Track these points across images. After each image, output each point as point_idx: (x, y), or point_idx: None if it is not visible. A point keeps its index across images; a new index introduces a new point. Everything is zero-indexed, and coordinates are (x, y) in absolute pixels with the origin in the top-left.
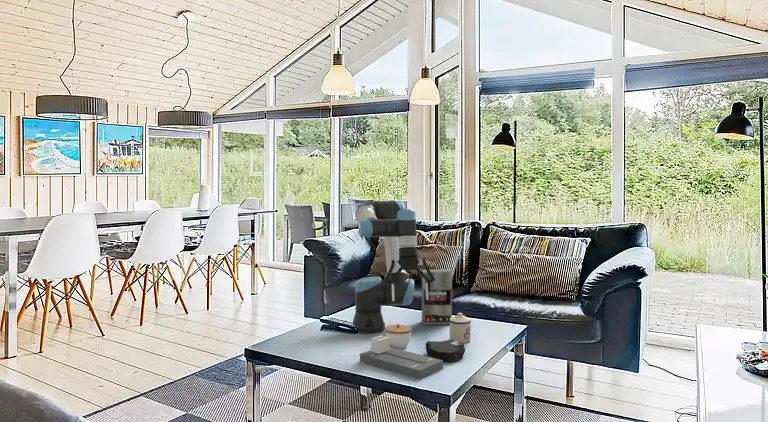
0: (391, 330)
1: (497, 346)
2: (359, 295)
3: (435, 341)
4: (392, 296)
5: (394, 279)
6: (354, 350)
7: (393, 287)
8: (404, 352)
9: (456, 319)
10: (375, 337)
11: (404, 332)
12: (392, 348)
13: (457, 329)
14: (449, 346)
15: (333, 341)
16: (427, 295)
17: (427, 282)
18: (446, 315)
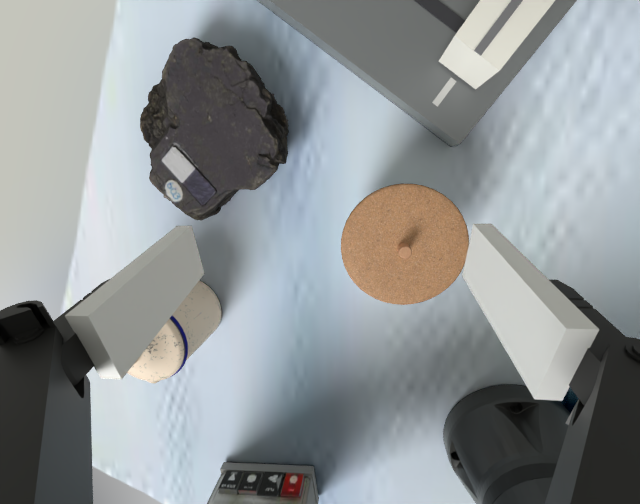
0: (437, 200)
1: (82, 250)
2: None
3: (247, 186)
4: (503, 241)
5: (596, 402)
6: (579, 171)
7: (539, 297)
8: (369, 48)
9: None
10: (537, 18)
11: (371, 193)
12: (422, 103)
13: None
14: (193, 126)
15: None
16: (163, 240)
17: (67, 338)
18: (229, 492)
